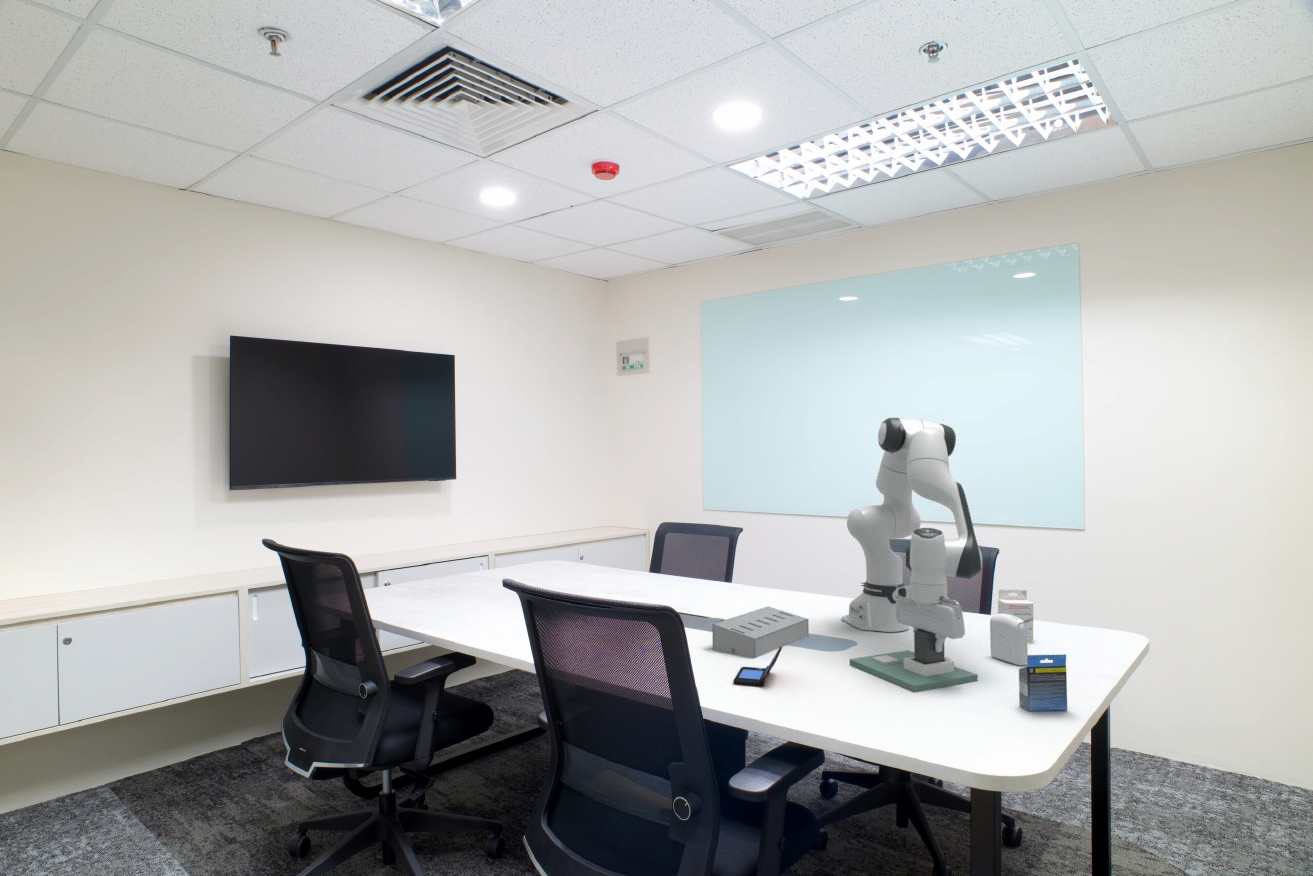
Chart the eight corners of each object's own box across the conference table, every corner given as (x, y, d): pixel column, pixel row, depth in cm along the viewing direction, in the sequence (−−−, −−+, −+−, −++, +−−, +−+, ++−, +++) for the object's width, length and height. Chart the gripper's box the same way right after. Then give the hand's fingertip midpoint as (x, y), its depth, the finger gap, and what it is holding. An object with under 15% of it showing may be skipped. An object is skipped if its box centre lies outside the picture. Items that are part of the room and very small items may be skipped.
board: (849, 664, 196) (849, 649, 196) (908, 655, 204) (908, 641, 204) (914, 692, 174) (914, 675, 174) (977, 680, 182) (977, 664, 182)
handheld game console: (741, 670, 193) (741, 642, 193) (783, 674, 190) (782, 645, 190) (732, 685, 181) (731, 655, 181) (776, 689, 178) (776, 658, 178)
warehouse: (755, 659, 203) (754, 632, 203) (712, 650, 212) (712, 624, 212) (808, 637, 226) (808, 612, 226) (768, 630, 235) (767, 606, 235)
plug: (914, 662, 187) (914, 630, 187) (935, 658, 190) (935, 627, 190) (926, 666, 183) (925, 634, 183) (947, 663, 186) (947, 631, 186)
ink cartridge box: (1003, 642, 217) (1003, 592, 217) (997, 638, 222) (997, 589, 222) (1034, 643, 216) (1033, 592, 217) (1027, 638, 221) (1026, 589, 222)
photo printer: (987, 656, 203) (987, 611, 203) (1000, 655, 205) (999, 610, 205) (1018, 667, 193) (1017, 619, 194) (1030, 665, 195) (1029, 618, 195)
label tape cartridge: (1057, 704, 165) (1057, 649, 165) (1068, 711, 161) (1067, 654, 162) (1018, 705, 165) (1018, 650, 165) (1028, 712, 161) (1027, 655, 161)
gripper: (970, 600, 178) (971, 657, 178) (909, 585, 197) (910, 638, 197) (950, 602, 176) (951, 660, 176) (891, 588, 195) (891, 640, 194)
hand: (929, 648), depth 186 cm, fingers closed on plug, 4 cm apart
